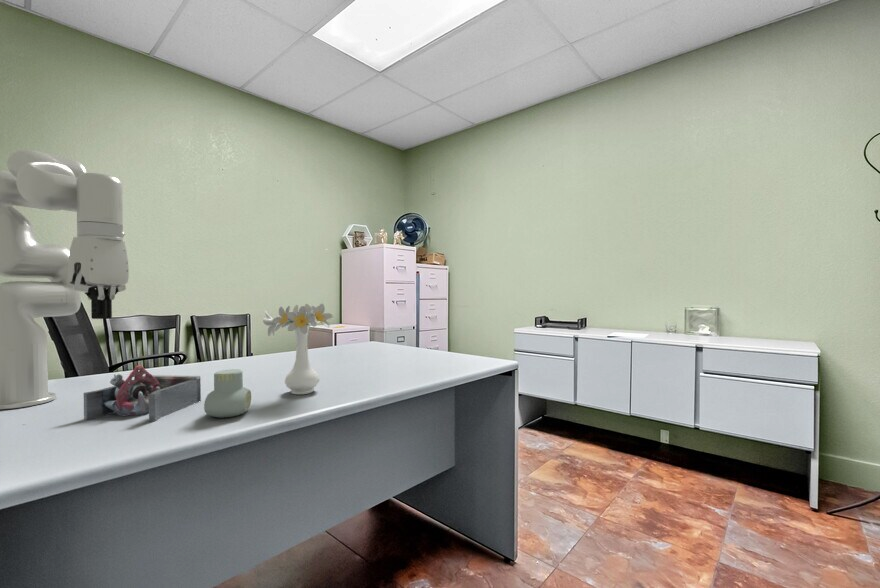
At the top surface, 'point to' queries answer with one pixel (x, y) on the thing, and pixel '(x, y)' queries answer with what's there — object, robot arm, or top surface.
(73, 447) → the top surface
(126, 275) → the robot arm
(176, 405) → the bracket
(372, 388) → the top surface
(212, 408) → the grey rounded piece
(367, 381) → the top surface
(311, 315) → the flower vase
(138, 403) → the red and grey figure
